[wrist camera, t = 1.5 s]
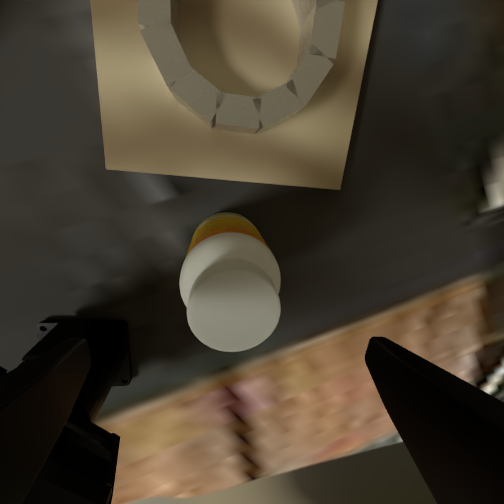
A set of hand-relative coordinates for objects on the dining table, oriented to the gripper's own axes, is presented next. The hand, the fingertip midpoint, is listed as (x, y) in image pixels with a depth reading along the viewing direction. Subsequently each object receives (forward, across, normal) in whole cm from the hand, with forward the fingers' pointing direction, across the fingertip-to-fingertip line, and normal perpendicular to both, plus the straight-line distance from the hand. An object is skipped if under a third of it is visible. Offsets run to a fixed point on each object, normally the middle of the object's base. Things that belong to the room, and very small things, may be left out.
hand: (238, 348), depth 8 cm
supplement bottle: (+12, 0, +1) cm, 12 cm away
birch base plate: (+12, 0, -12) cm, 17 cm away
